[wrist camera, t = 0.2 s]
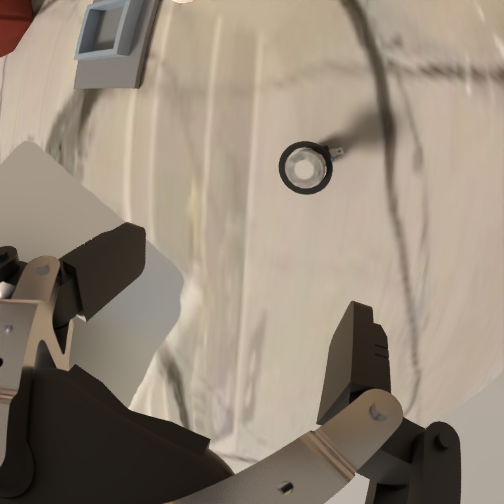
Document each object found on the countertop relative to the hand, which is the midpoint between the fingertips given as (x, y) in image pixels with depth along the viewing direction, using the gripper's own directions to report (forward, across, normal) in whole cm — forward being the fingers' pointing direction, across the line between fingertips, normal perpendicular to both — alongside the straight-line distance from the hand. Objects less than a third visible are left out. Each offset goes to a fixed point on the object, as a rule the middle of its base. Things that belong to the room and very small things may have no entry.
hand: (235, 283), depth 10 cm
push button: (+29, 0, -1) cm, 29 cm away
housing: (+29, +37, -17) cm, 50 cm away
